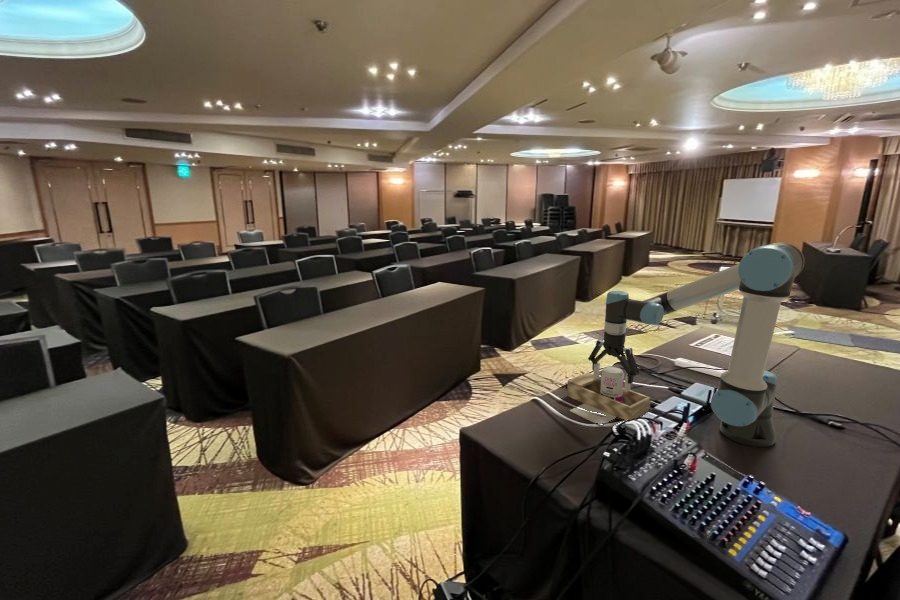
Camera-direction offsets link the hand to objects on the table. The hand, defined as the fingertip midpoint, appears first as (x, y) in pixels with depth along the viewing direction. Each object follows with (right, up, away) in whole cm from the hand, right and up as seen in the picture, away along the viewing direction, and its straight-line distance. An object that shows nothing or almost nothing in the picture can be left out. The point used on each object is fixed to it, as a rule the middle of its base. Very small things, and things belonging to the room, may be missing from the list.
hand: (611, 384), depth 159 cm
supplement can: (+1, -9, +2) cm, 9 cm away
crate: (-1, -8, +3) cm, 9 cm away
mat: (-9, -10, -5) cm, 14 cm away
